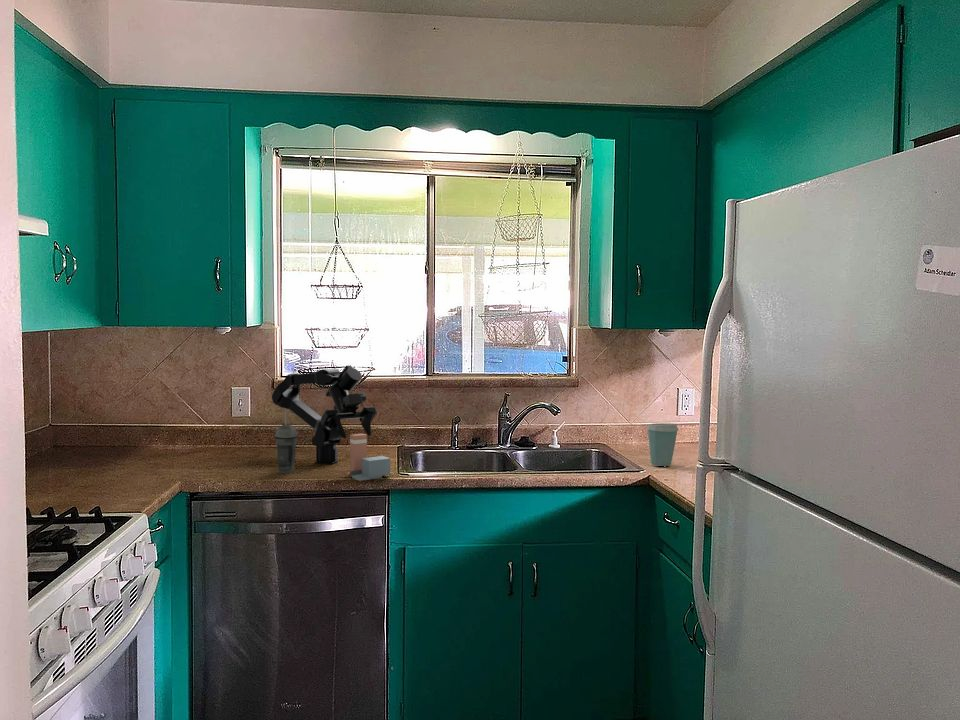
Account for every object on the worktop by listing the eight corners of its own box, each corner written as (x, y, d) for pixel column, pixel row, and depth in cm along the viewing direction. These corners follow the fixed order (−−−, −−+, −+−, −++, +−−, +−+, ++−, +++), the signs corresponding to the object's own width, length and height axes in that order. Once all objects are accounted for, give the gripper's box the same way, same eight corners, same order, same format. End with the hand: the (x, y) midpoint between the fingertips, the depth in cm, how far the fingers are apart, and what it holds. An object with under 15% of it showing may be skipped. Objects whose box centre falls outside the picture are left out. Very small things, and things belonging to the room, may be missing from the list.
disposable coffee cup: (639, 465, 270) (641, 422, 269) (655, 461, 278) (657, 419, 277) (667, 470, 263) (668, 426, 262) (682, 465, 271) (684, 423, 270)
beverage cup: (277, 475, 248) (277, 412, 246) (272, 470, 254) (272, 410, 253) (300, 473, 251) (300, 411, 250) (294, 468, 257) (294, 409, 256)
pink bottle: (349, 474, 250) (349, 434, 249) (362, 473, 252) (362, 433, 252) (354, 476, 247) (354, 435, 246) (366, 474, 250) (367, 434, 249)
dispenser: (350, 477, 246) (350, 458, 245) (380, 473, 252) (380, 455, 252) (359, 481, 240) (359, 461, 240) (390, 477, 247) (390, 458, 246)
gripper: (325, 385, 252) (341, 423, 244) (374, 382, 263) (391, 419, 256) (313, 406, 258) (328, 444, 251) (362, 403, 270) (378, 439, 262)
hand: (357, 436), depth 255 cm, fingers open, 9 cm apart
